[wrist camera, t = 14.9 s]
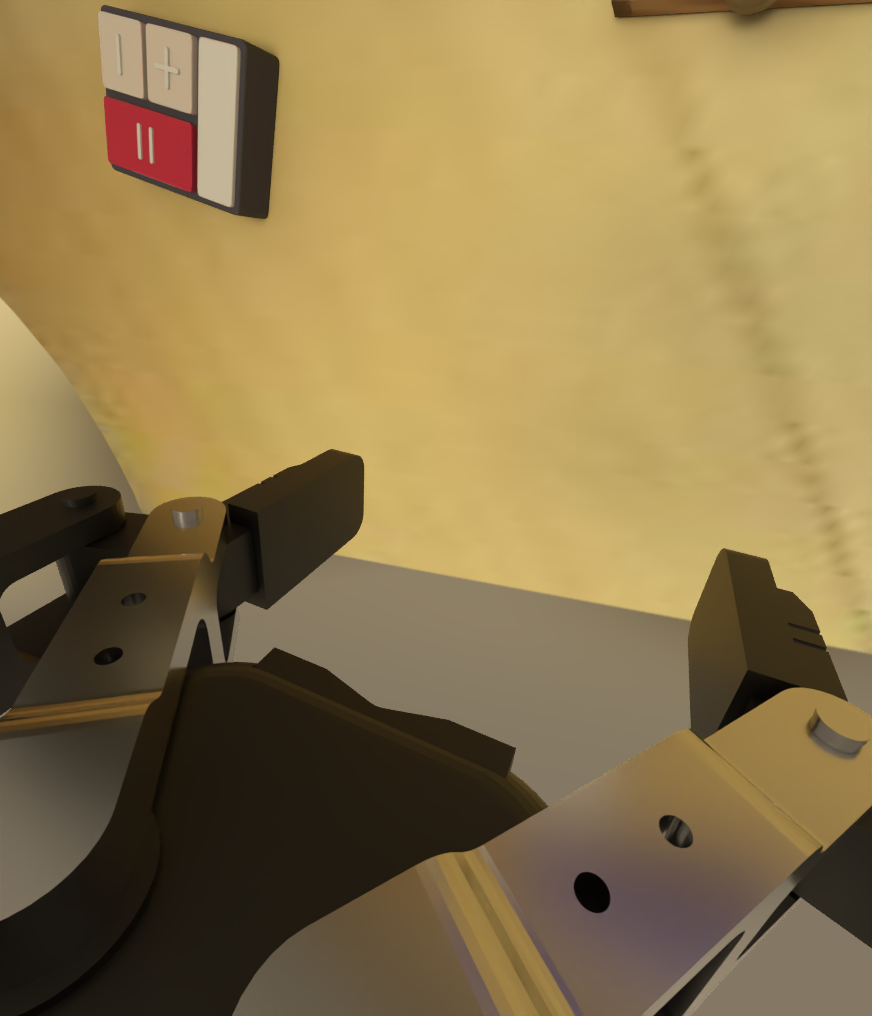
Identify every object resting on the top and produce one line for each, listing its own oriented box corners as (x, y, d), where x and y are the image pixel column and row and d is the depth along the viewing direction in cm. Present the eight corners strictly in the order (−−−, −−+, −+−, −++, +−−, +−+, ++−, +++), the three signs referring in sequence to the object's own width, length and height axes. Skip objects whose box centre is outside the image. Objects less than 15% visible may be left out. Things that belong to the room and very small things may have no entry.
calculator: (89, -2, 38) (238, 35, 34) (141, 22, 42) (281, 58, 38) (101, 167, 44) (231, 215, 40) (146, 175, 47) (269, 220, 43)
